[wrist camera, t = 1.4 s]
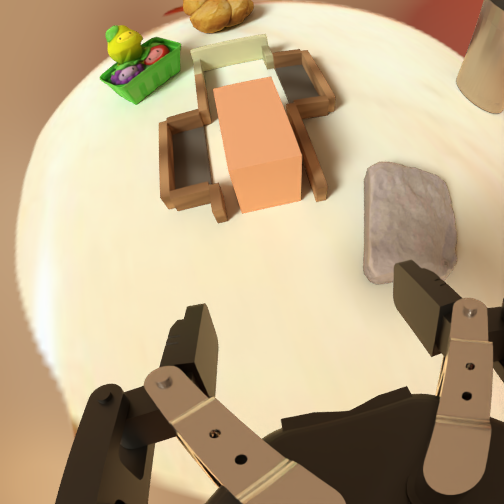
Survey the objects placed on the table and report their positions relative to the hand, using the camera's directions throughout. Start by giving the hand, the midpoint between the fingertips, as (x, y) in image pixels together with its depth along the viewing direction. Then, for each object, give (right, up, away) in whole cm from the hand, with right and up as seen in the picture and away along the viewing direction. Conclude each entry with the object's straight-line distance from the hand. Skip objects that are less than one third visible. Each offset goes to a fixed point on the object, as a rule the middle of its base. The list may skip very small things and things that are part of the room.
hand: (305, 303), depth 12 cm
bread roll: (-7, +44, +34) cm, 57 cm away
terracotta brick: (-1, +11, +21) cm, 24 cm away
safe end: (-5, +30, +28) cm, 42 cm away
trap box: (-3, +18, +23) cm, 30 cm away
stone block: (+13, +4, +17) cm, 22 cm away
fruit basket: (-18, +28, +30) cm, 45 cm away
